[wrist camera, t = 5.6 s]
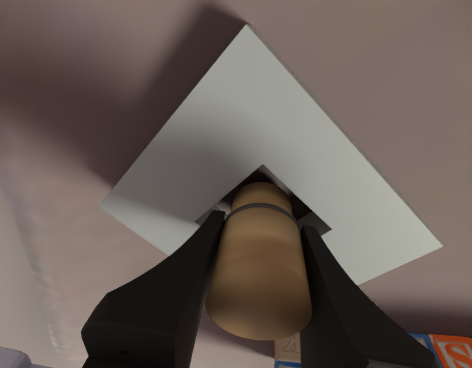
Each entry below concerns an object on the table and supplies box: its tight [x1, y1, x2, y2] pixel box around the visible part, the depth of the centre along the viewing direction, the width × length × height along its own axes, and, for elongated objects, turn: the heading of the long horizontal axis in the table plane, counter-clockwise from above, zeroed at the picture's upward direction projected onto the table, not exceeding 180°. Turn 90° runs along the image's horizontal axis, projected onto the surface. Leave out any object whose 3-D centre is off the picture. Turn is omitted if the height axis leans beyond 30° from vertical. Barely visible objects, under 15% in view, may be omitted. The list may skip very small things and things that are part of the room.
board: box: [98, 24, 443, 285], centre depth 15 cm, size 14×12×2 cm
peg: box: [206, 182, 312, 340], centre depth 12 cm, size 4×4×6 cm
